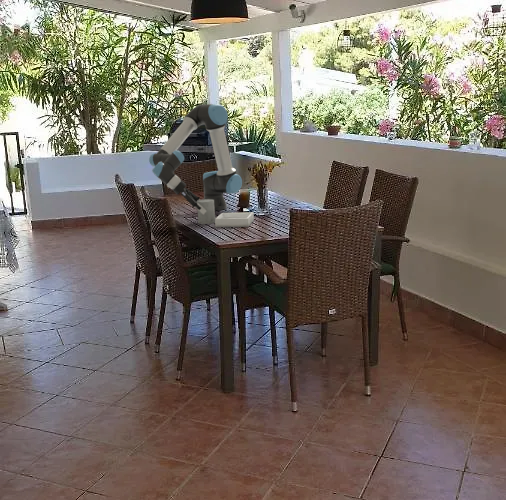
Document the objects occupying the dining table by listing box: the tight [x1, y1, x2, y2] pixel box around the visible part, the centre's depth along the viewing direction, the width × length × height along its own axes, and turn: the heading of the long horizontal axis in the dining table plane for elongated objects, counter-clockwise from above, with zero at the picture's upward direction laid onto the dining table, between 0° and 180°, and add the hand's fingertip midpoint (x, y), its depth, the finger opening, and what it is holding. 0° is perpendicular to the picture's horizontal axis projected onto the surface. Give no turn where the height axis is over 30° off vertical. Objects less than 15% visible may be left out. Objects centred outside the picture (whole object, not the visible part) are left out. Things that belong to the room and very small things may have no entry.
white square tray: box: [214, 211, 255, 228], centre depth 385 cm, size 18×18×4 cm
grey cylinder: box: [197, 198, 216, 225], centre depth 392 cm, size 10×10×12 cm
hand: (205, 210), depth 392 cm, fingers open, 13 cm apart
